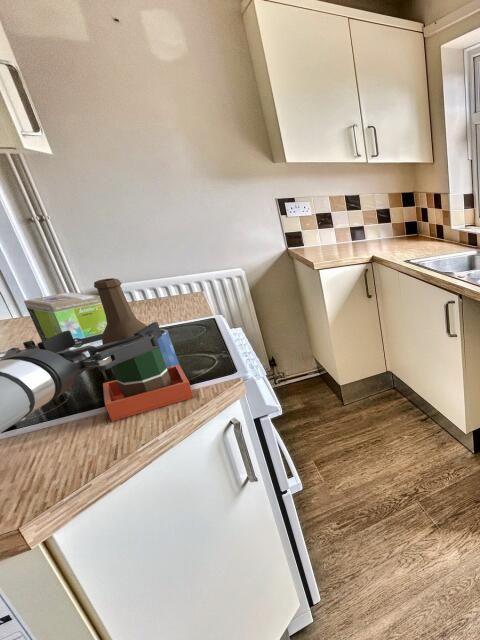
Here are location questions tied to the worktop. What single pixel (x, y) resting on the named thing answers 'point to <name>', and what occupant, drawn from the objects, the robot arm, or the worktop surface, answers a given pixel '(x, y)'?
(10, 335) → the worktop surface
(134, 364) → the beer bottle
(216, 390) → the worktop surface
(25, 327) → the worktop surface
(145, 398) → the red tray
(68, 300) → the tea box
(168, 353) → the blue cup
